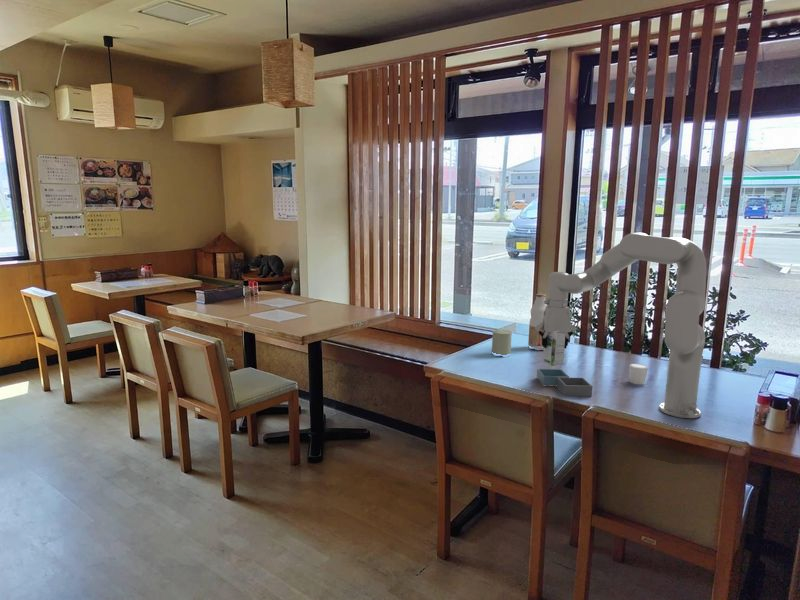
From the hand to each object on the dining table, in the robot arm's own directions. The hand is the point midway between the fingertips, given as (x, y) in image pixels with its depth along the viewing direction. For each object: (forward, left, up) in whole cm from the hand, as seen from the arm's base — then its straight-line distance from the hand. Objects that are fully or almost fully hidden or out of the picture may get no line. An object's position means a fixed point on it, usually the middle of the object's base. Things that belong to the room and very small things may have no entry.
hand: (554, 347), depth 201 cm
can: (+41, +13, -15) cm, 45 cm away
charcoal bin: (-11, -5, -15) cm, 19 cm away
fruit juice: (+54, -8, -15) cm, 57 cm away
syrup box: (0, 0, -7) cm, 7 cm away
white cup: (+2, -35, -15) cm, 38 cm away
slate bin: (0, 0, -15) cm, 15 cm away
